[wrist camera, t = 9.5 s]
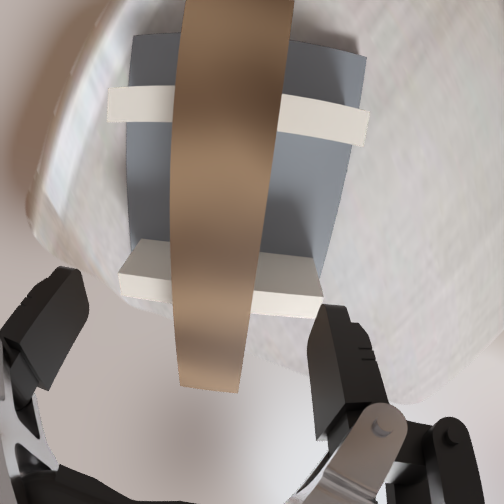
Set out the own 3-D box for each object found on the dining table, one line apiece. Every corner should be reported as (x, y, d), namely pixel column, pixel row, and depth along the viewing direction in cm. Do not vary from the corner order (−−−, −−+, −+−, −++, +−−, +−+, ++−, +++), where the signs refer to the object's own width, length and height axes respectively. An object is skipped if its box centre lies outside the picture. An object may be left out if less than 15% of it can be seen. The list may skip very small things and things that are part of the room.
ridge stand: (141, 38, 16) (99, 24, 11) (359, 59, 17) (396, 49, 11) (141, 284, 28) (118, 331, 22) (306, 304, 28) (315, 355, 23)
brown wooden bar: (205, 16, 11) (187, -6, 8) (285, 22, 11) (294, 0, 8) (189, 344, 22) (180, 385, 19) (240, 351, 22) (237, 393, 19)
